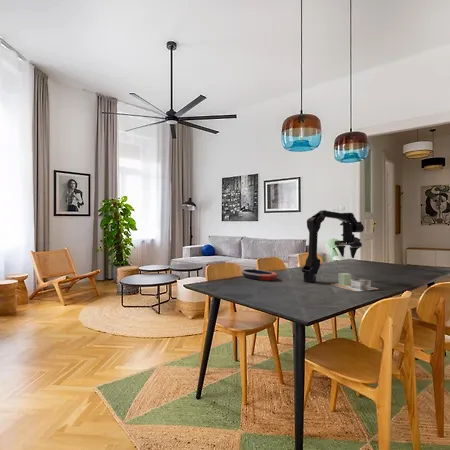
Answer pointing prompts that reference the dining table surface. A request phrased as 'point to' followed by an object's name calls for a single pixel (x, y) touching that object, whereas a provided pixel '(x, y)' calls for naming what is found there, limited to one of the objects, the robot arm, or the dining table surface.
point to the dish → (259, 274)
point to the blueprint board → (357, 285)
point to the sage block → (344, 278)
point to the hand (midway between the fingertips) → (347, 257)
